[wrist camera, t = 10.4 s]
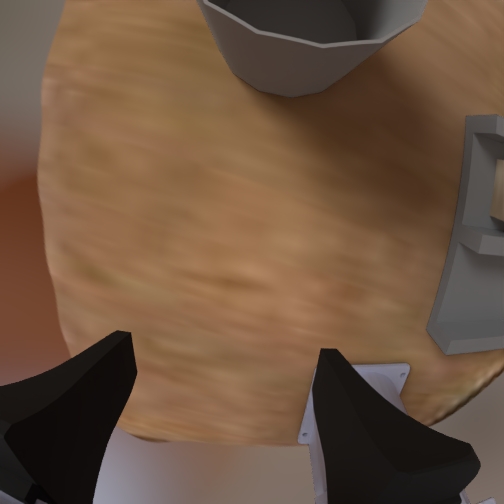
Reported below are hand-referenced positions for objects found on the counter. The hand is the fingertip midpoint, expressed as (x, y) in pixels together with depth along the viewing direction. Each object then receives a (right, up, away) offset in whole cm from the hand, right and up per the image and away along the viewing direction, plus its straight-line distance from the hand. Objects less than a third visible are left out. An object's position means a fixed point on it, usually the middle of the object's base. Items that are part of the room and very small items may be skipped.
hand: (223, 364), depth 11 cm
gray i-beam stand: (+19, +5, +8) cm, 22 cm away
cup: (+3, +17, +4) cm, 18 cm away
